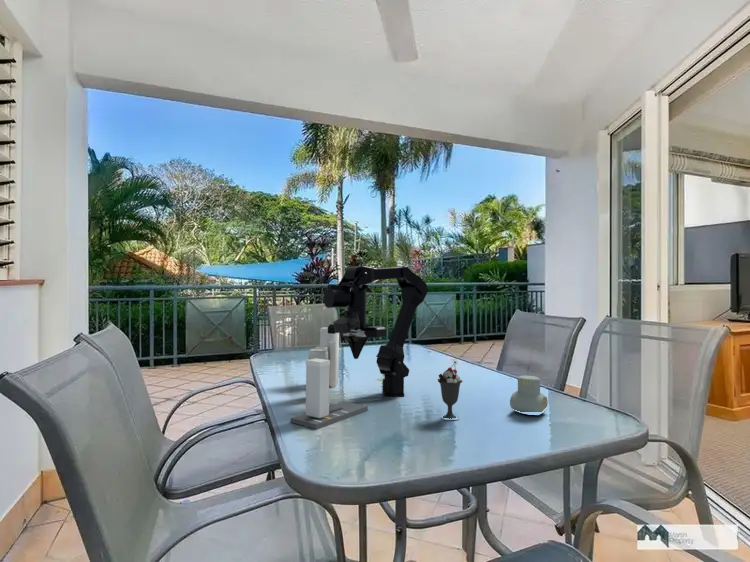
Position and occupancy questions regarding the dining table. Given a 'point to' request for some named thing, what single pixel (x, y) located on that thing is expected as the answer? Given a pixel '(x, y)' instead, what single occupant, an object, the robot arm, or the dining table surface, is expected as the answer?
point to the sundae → (449, 389)
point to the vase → (330, 353)
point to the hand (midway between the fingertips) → (355, 358)
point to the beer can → (318, 354)
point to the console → (330, 415)
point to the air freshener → (528, 395)
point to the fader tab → (317, 387)
